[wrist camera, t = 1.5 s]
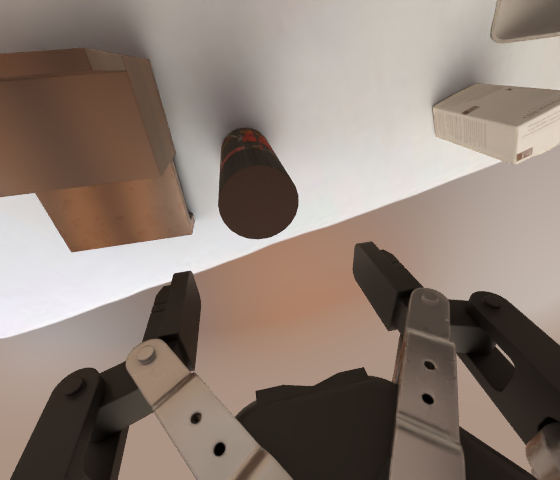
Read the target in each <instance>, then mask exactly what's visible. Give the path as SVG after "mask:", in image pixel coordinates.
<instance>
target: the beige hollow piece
mask: <svg viewBox="0 0 560 480" xmlns="http://www.w3.org/2000/svg"><path fill="white" fill-rule="evenodd" d="M491 35H492V38H493V39H494V41H496V42H497V43H510V42H517V41H525V40H532V39H540V38H547V37H555V36H560V0H498V2H497V7H496V11H495V16H494V20H493V25H492V29H491Z"/></svg>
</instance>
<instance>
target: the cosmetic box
mask: <svg viewBox="0 0 560 480" xmlns="http://www.w3.org/2000/svg"><path fill="white" fill-rule="evenodd" d="M433 117H434V125H435V132H436V137H438V138H441V139H444V140H447V141H449V142H452V143H455V144H458V145H460V146H463V147H466V148H469V149H472V150H474V151H477V152H480V153H483V154H485V155H488V156H491V157H494V158H496V159H499V160H502V161H505V162H507V163H510V164H513V165H516V164H518V163H520V162H523V161H525V160H527V159H528V158H531V157H533V156H535V155H539V154H542V153H544V152H546V151H548V150H550V149H552V148H553V147H555V146H556V145H558V144H560V90H550V89H538V88H526V87H514V86H503V85H491V84H474V85H472V86H470V87H468V88H466V89H464V90H462V91H460V92H458V93H456V94H454V95H452V96H450V97H448V98H447V99H445V100H443V101H441V102H440V103H438V104H436V105H435V106H434V107H433Z"/></svg>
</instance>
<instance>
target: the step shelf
mask: <svg viewBox="0 0 560 480" xmlns="http://www.w3.org/2000/svg"><path fill="white" fill-rule="evenodd" d="M175 154H176V152H175V148H174V145H173V141H172V138H171V134H170V131H169V127H168V123H167V120H166V116H165V113H164V109H163V106H162V102H161V99H160V95H159V91H158V88H157V84H156V81H155V77H154V74H153V70H152V67H151V63H150V60H148V59H142V58H137V57H131V56H126V55H120V54H115V53H109V52H104V51H98V50H93V49H87V48H72V49H58V50H44V51H30V52H17V53H3V54H0V197H5V196H13V195H21V194H29V193H35V194H36V195H37V197H38V198H39V200H40V202H41V203H42V205H43V207H44V208H45V210H46V212H47V213H48V215H49V216H50V218H51V220H52V221H53V223H54V225H55V226H56V228H57V230H58V231H59V233H60V234H61V236H62V238H63V239H64V241H65V243H66V244H67V246H68V247H69V249H70V251H71V252H77V251H84V250H90V249H97V248H104V247H110V246H117V245H124V244H131V243H137V242H144V241H151V240H157V239H164V238H171V237H177V236H184V235H191V234H192V233H193V228H194V223H195V220H194V216H193V214H189V213H188V210H187V207H186V203H185V200H184V196H183V193H182V189H181V186H180V182H179V179H178V176H177V172H176V169H175V165H174V162H173V159H172V158H173V157H174V155H175Z"/></svg>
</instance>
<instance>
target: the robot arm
mask: <svg viewBox="0 0 560 480" xmlns="http://www.w3.org/2000/svg"><path fill="white" fill-rule="evenodd" d="M353 261H354V262H353V274H354V278H355V280H356V282H357V283H358V285H359V286H360V288H361V289H362V291H363V292H364V294H365V296H366V297H367V299H368V300H369V302H370V303H371V305H372V307H373V308H374V309H375V311H376V313H377V314H378V316H379V317H380V319H381V321H382V322H383V323H384V325H385V327H386V328H387V330H388V331H392V330H396V329H398V331H399V332H400V333H401V334H400V338H399V344H398V349H397V356H396V362H395V369H394V374H393V379H392V382H391V381H388V380H386V379H383V378H379V377H374V376H368V375H367V373H366V371H365V369H364V367H363V368H358V369H353V370H349V371H344V372H340V373H337V374H335V375H333V376H332V377H330V378H328V379H326V380H324V381H322V382H320V383H318V384H317V385H315V386H294V385H281V386H277V387H272V388H268V389H263V390H258V391H256V401H254V402H252V403H250V404H249V405H248V406H246V407H245V408H244V409H242V410H241V411H240V412H239V413H238V414H237V415H236V417H234V416H233V415H232V413H231V412H230V411H229V410H228V409H227V408H226V407H225V406H224V404H223V403H222V402H221V401H220V400H219V399H218V398H217V396H216V395H215V394H214V393H213V392H212V391H211V390H210V388H209V387H208V386H207V385H206V384H205V383H204V382H203V380H201V378H200V377H199V376H198V375H197V374H196V373H191V372H190V371H194V370H195V362H196V352H197V341H198V331H199V322H200V311H201V300H200V295H199V292H198V289H197V286H196V282H195V280H194V276H193V273H192V272H191V271H186V272H180V273H174V275H173V278H172V282H171V285H169V286H164V287H163V288H162V289H161V290H160V291H159V293H158V294H157V295H156V298H155V302H154V306H153V308H152V311H151V312H152V314H151V315H150V318H149V321H148V324H147V328H146V331H145V334H144V338H143V341H142V343H140V344H139V345H137V346H136V347H135V348H134V349H133V350H132V351H131V352H130V354H129V355H128V357H127V359H126V361H125V362H123V363H121V364H119V365H117V366H115V367H112V368H110V369H108V370H106V371H104V372H102V373H99V372H98V371H97V370H96V369H94V368H83V369H80V370H77V371H75V372H73V373H71V374H70V375H68V376H67V377H65V378H64V379H63V380H62V381H61V382H60V383H59V384H58V385H57V386H56V387H55V389H54V390H53V392H52V394H51V396H50V398H49V400H48V402H47V404H46V406H45V408H44V410H43V412H42V415H41V417H40V418H39V421H38V423H37V425H36V427H35V429H34V431H33V433H32V435H31V437H30V440H29V441H28V443H27V446H26V448H25V450H24V452H23V454H22V456H21V458H20V460H19V462H18V464H17V466H16V468H15V471H14V472H13V475H12V477H11V479H10V480H118V475H119V471H120V466H121V461H122V457H123V452H124V447H125V443H126V438H127V433H128V429H129V425H131V424H133V423H135V422H136V421H138V420H140V419H142V418H144V417H146V416H147V415H149V414H151V413H153V412H154V413H155V415H156V417H157V418H158V420H159V421H160V423H161V425H162V426H163V428H164V429H165V431H166V432H167V434H168V436H169V437H170V439H171V440H172V442H173V443H174V445H175V446H176V448H177V450H178V451H179V453H180V454H181V456H182V457H183V459H184V461H185V462H186V464H187V466H188V467H189V469H190V470H191V472H192V473H193V475H194V477H195V478H196V480H560V345H559V344H557V343H556V342H555V341H554V340H553V339H552V338H550V337H549V336H548V335H547V334H546V333H545V332H543V331H542V330H541V329H540V328H539V327H538V326H536V325H535V324H534V323H533V322H532V321H531V320H529V319H528V318H527V317H526V316H525V315H524V314H523V313H521V312H520V311H519V310H518V309H517V308H515V307H514V306H513V305H512V304H511V303H510V302H508V301H507V300H506V299H504V298H503V297H501V296H499V295H497V294H494V293H490V292H484V291H478V292H475V293H473V294H472V295H471V297H470V299H469V301H463V300H449V299H447V298H446V297H445V296H444V295H443V294H441V293H440V292H438V291H436V290H433V289H429V288H424V287H423V286H422V285H421V284H420V283H419V282H418V281H417V280H416V279H415V278H414V277H413V276H412V275H411V274H410V272H409V271H408V270H407V269H406V268H404V266H403V265H402V264H401V263H399V261H398V260H397V259H396V257H395V256H394V255H393V254H391V253H389V252H387V251H385V250H379V249H378V247H377V246H376V245H375V244H374V243H373V242H371V241H370V242H365V243H358V244H356V245H355V250H354V260H353ZM496 344H498V346H499V347H500V348H501V349H502V350H503V351H504V352H505V353H506V354H507V355H508V356H509V358H510V359H511V360H512V362H513V363H514V366H515V367H514V366H513V365H512V364H511V363H510V362H509V361H508V360H507V359H506V358H505V356H503V354H502V353H501V352H500V351H499V350H498V349H497V348H496V347H495V345H496ZM456 354H457V355H458V356H459V358H460V359H461V360H462V362H463V363H464V364H465V365H466V367H467V368H468V370H469V371H470V372H471V373H472V375H473V376H474V377H475V379H476V380H477V381H478V383H479V384H480V385H481V387H482V388H483V389H484V390H485V392H486V393H487V395H488V396H489V397H490V398H491V400H492V401H493V402H494V404H495V405H496V406H497V408H498V409H499V410H500V412H501V413H502V414H503V416H504V417H505V418H506V420H507V421H508V422H509V423H510V425H511V426H512V427H513V429H514V430H515V431H516V433H517V434H518V435H519V436H520V438H521V439H522V441H523V442H524V443H525V445H526V457H527V460H528V462H529V464H530V466H531V467H532V469H531V472H532V475H531V474H530V473H529V472H527V471H526V470H524V469H522V468H521V467H519V466H518V465H516V464H515V463H514V462H512V461H511V460H509V459H508V458H506V457H505V456H503V455H502V454H500V453H499V452H497V451H495V450H494V449H493V448H491V447H490V446H488V445H487V444H485V443H484V442H482V441H481V440H479V439H478V438H476V437H475V436H473V435H472V434H470V433H469V432H467V431H466V430H464V429H463V428H461V427H460V426H459V413H458V388H457V362H456Z"/></svg>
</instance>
